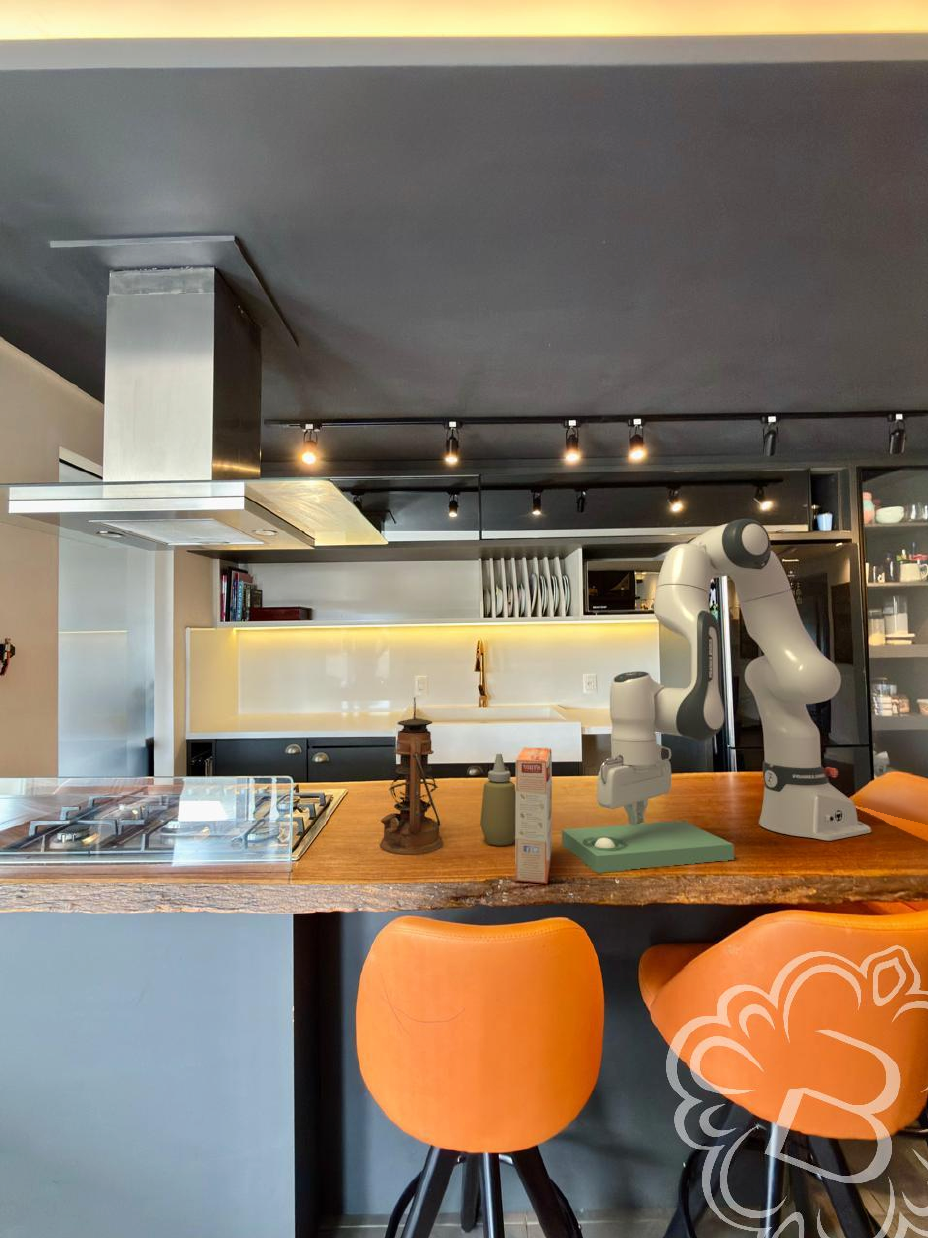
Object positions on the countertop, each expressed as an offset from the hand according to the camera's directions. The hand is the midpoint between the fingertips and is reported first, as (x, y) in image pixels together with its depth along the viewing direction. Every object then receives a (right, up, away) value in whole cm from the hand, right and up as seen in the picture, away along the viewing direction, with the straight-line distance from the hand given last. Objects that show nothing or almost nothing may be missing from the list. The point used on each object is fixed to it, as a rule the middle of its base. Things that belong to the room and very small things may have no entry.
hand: (636, 823), depth 114 cm
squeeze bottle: (-27, -6, +5) cm, 28 cm away
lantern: (-45, -6, +4) cm, 46 cm away
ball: (-8, -3, -5) cm, 10 cm away
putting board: (+1, -5, -2) cm, 5 cm away
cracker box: (-22, -5, -10) cm, 24 cm away
